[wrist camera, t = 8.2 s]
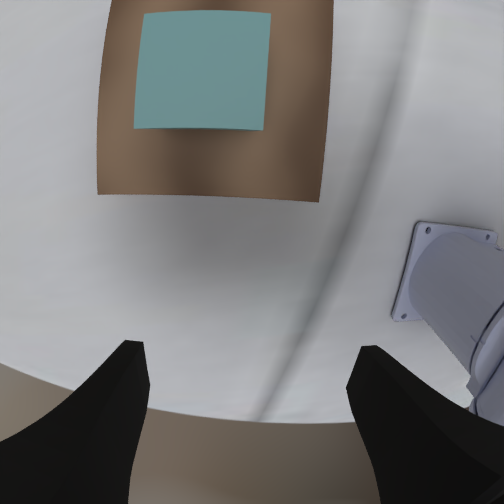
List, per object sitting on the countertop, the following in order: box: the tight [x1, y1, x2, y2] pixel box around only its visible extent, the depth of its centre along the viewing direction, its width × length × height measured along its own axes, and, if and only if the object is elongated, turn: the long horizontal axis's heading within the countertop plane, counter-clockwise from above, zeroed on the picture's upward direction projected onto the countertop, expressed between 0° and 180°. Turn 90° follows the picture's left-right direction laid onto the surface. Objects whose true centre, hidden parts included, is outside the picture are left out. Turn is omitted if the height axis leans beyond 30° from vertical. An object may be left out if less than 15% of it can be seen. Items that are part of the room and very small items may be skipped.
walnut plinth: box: [97, 0, 334, 202], centre depth 14 cm, size 12×12×2 cm
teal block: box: [134, 10, 271, 131], centre depth 11 cm, size 4×4×5 cm
